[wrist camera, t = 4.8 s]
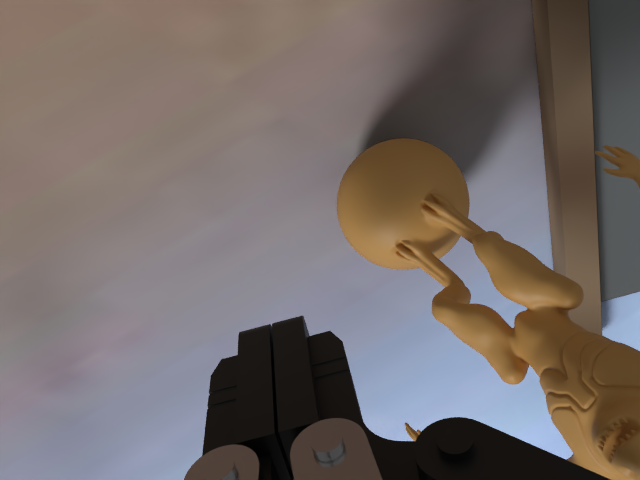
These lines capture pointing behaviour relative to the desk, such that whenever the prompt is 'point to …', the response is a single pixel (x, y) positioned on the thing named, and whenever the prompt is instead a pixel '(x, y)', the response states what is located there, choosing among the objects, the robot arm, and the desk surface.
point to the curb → (569, 147)
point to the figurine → (512, 282)
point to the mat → (616, 139)
